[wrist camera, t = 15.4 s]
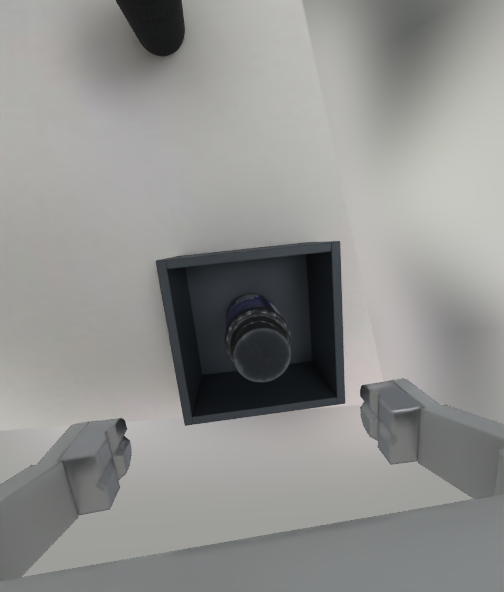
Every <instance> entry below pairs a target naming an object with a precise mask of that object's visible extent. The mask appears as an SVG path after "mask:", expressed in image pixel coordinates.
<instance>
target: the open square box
mask: <svg viewBox="0 0 504 592" xmlns="http://www.w3.org/2000/svg"><path fill="white" fill-rule="evenodd" d="M156 266H157V271H158V277H159V283H160V288H161V294H162V300H163V305H164V311H165V316H166V322H167V328H168V333H169V339H170V344H171V350H172V356H173V361H174V367H175V373H176V378H177V384H178V389H179V395H180V401H181V406H182V412H183V418H184V423H185V425H192V424H200V423H207V422H214V421H221V420H229V419H236V418H243V417H251V416H258V415H265V414H272V413H280V412H287V411H294V410H301V409H309V408H316V407H323V406H330V405H337V404H345V385H344V353H343V321H342V289H341V257H340V241H333V242H307V243H298V244H289V245H279V246H270V247H260V248H251V249H241V250H232V251H222V252H213V253H203V254H194V255H184V256H177V257H172V258H167V259H162V260H157V261H156ZM251 293H255V294H260V295H262V296H264V297H266V298H268V299H269V300H270V301H271V302H272V303H273V304H274V306H275V307H276V309H277V310H278V312H279V313H280V315H281V316H282V317H283V319H284V320H285V321H286V323H287V325H288V327H289V329H290V333H291V345H290V348H291V359H290V363H289V365H288V367H287V369H286V370H285V372H284V373H283V374H282V375H280V376H279V377H277V378H276V379H274V380H271V381H268V382H253V381H250V380H248V379H246V378H245V377H243V376H242V375H241V374H240V373H239V372H238V371H237V369H236V367H235V365H234V362H233V361H231V359H230V357H229V355H228V354H227V351H226V348H225V329H226V314H227V311H228V308H229V307H230V305H231V303H232V302H233V301H234V300H235V299H236V298H238V297H240V296H242V295H245V294H251Z"/></svg>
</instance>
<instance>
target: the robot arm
mask: <svg viewBox="0 0 504 592" xmlns="http://www.w3.org/2000/svg"><path fill="white" fill-rule="evenodd" d="M360 396H361V398H362V399H363V400H364V403H363V404H362V406H361V407H360V409H361V419H362V422H363V426H364V427H365V430H366V431H367V433H368V434H369V436H370V437H372V438H373V439H375V440H377V441H378V448H379V450H380V451H381V452H382V454H383V455H384V456H385V458H386V459H387V460H388V462H389V463H390V464H399V463H407V462H415V461H418V463H419V464H421V465H422V466H424V467H425V468H427V469H429V470H430V471H432V472H433V473H435V474H436V475H438V476H439V477H441V478H442V479H444V480H445V481H447V482H449V483H450V484H452V485H453V486H455V487H456V488H458V489H459V490H461V491H463V492H464V493H466V494H467V495H469V496H470V497H472V498H473V499H471V500H466V501H460V502H454V503H449V504H443V505H437V506H432V507H426V508H420V509H415V510H409V511H403V512H397V513H392V514H385V515H379V516H373V517H368V518H362V519H356V520H350V521H344V522H338V523H333V524H327V525H321V526H316V527H310V528H303V529H297V530H292V531H286V532H280V533H274V534H269V535H263V536H257V537H252V538H246V539H240V540H235V541H229V542H223V543H217V544H211V545H205V546H200V547H194V548H188V549H182V550H177V551H171V552H165V553H159V554H153V555H148V556H142V557H136V558H130V559H125V560H119V561H113V562H107V563H101V564H96V565H90V566H84V567H78V568H72V569H67V570H61V571H55V572H49V573H44V574H38V575H32V576H26V577H22V575H24V574H25V573H26V572H27V570H28V569H29V568H30V567H31V566H32V565H33V564H34V563H35V562H36V561H37V560H38V559H39V558H40V557H41V556H42V555H43V554H44V553H45V552H46V551H47V550H48V548H50V546H51V545H52V544H53V543H54V542H55V541H56V540H57V539H58V538H59V537H60V536H61V535H62V534H63V533H64V532H65V531H66V530H67V529H68V528H69V527H70V525H72V524H73V522H74V521H75V520H76V519H77V518H78V515H83V514H88V513H93V512H99V511H104V510H109V509H110V508H111V506H112V504H113V501H114V499H115V497H116V495H117V493H118V491H119V488H120V485H119V482H118V481H119V480H120V479H121V478H122V477H123V476H124V475H125V474H126V473H127V470H128V468H129V466H130V460H131V444H130V440H128V439H127V438H126V437H125V436H124V434H125V432H126V430H127V427H126V423H125V420H124V419H122V418H118V419H109V420H100V421H92V422H84V423H77V424H74V425H71V426H70V427H69V428H68V430H67V431H66V432H65V433H64V434H63V435H62V437H61V438H60V439H59V440H58V441H57V442H56V443H55V444H54V445H53V447H52V448H51V449H50V450H49V451H48V452H47V453H46V455H45V456H44V457H43V458H42V459H41V460H40V462H38V464H37V465H31V466H29V467H28V468H26V469H24V470H23V471H21V472H20V473H18V474H16V475H15V476H13V477H12V478H10V479H8V480H7V481H5V482H4V483H2V484H0V592H504V424H502V423H499V422H496V421H493V420H490V419H486V418H484V417H480V416H478V415H475V414H472V413H469V412H466V411H463V410H460V409H457V408H454V407H451V406H448V405H440V404H439V403H437V402H436V401H435V400H433V399H432V398H431V397H429V396H428V395H426V393H424V392H423V391H422V390H420V389H419V388H418V387H416V386H415V385H414V384H412V383H411V382H410V381H408V380H407V379H403V378H402V379H396V380H391V381H386V382H380V383H373V384H367V385H362V386H361V389H360Z"/></svg>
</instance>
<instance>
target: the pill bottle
mask: <svg viewBox="0 0 504 592" xmlns="http://www.w3.org/2000/svg"><path fill="white" fill-rule="evenodd" d="M290 345H291V333H290V329H289V327H288V325H287V323H286V321H285V320H284V319H283V317H282V316H281V315H280V313H279V312H278V310H277V309H276V307H275V306H274V304H273V303H272V302H271V301H270V300H269V299H268V298H266V297H264V296H262V295H260V294H255V293H251V294H245V295H242V296H240V297H238V298H236V299H235V300H234V301H233V302H232V303H231V305H230V307H229V308H228V311H227V314H226V329H225V348H226V351H227V354H228V355H229V357H230V359H231V361H233V362H234V365H235V367H236V369H237V371H238V372H239V373H240V374H241V375H242V376H243V377H245V378H246V379H248V380H250V381H253V382H268V381H271V380H274V379H276V378H277V377H279V376H280V375H282V374H283V373H284V372H285V370H286V369H287V367H288V365H289V363H290V359H291V348H290Z"/></svg>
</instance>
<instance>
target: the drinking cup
mask: <svg viewBox="0 0 504 592" xmlns="http://www.w3.org/2000/svg"><path fill="white" fill-rule="evenodd" d="M116 2H117V4H118V5H119V7H120V9H121V10H122V12H123V14H124V15H125V17H126V19H127V21H128V22H129V24H130V26H131V27H132V29H133V31H134V32H135V34H136V36H137V38H138V39H139V41H140V42H141V44H142V45H143V46H144V47H145V48H146V49H147V50H148V51H150V52H151V53H153V54H156V55H161V56H165V55H169V54H172V53H174V52H175V51H176V50H177V49H178V48H179V47H180V45H181V44H182V41H183V39H184V33H185V26H184V17H183V8H182V0H116Z"/></svg>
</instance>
